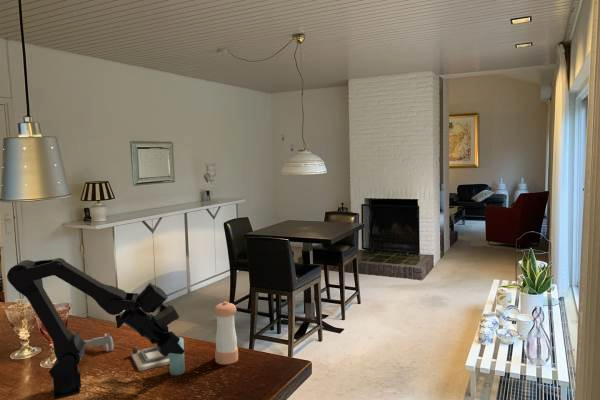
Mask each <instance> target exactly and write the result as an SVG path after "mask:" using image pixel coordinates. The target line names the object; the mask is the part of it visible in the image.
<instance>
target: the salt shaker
mask: <svg viewBox="0 0 600 400" xmlns="http://www.w3.org/2000/svg"><path fill="white" fill-rule="evenodd" d="M213 312H214V314H215V316H216V333H215V334H216V335H215V346H216V348H215V350H214V354H215V355H214V356H215V358H214V359H215V360H214V361H215V363H217V364H219V365H231V364H234V363H236V362H238V360H239V349H238V348H239V347H238V344H237V343H238V342H237V339H238V337H237V334H236V333H237V332H236V328H235V314H236V313H237V306H235V304H234V303H231V302H228V301H227V300H226V301H225V300H223V302H221V303H218V304H217V305H216V306H215V307H214V310H213Z"/></svg>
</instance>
